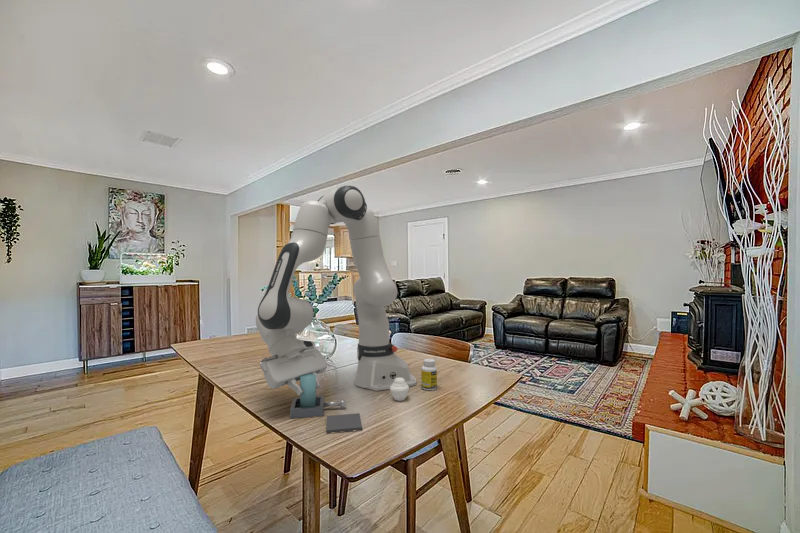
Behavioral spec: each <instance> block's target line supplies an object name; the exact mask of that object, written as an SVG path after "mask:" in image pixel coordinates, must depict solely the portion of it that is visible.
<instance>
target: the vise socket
mask: <svg viewBox="0 0 800 533" xmlns="http://www.w3.org/2000/svg"><path fill="white" fill-rule="evenodd" d="M346 405H347V402H346V400H345V399H340V400H339V401H326V402H325V395H318V396H317V395H316V406H314V407H300V397H293V399H292V401H291V406H290V408H289V419H290V420H291V419H302V418H314V416H318V417H324V412H325V411H324V409H325V408H326V407H327V408H329V407H337V406H338V407H342V408H344V407H345V406H346Z"/></svg>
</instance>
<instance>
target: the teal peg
mask: <svg viewBox="0 0 800 533" xmlns="http://www.w3.org/2000/svg"><path fill="white" fill-rule="evenodd" d="M299 382H300V383H299V386H300V387H301V386H302V387H303V389H304V390H305V392H304V393H303V394H301V395H299V396H300V397H299V398H300V407H314V406H316V396H317V395H316V394H317V393H316V392H317V389H316V375H314V374H306V375H303V376H300V380H299ZM300 407H299V408H300Z"/></svg>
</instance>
